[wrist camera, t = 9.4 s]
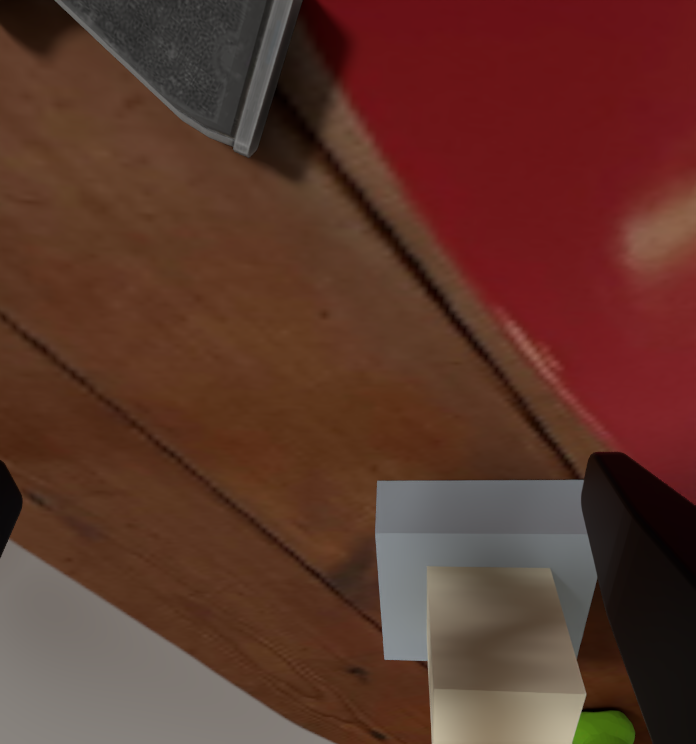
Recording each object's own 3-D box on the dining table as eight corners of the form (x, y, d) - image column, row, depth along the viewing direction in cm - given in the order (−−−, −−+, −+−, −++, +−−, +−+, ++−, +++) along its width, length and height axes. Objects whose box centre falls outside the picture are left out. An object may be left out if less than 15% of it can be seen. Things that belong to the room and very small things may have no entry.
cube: (550, 568, 22) (586, 694, 18) (536, 639, 25) (565, 764, 21) (427, 566, 23) (433, 688, 18) (426, 636, 25) (432, 757, 21)
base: (585, 480, 23) (608, 534, 21) (559, 608, 28) (574, 665, 26) (377, 480, 24) (375, 532, 22) (385, 604, 29) (384, 659, 27)
